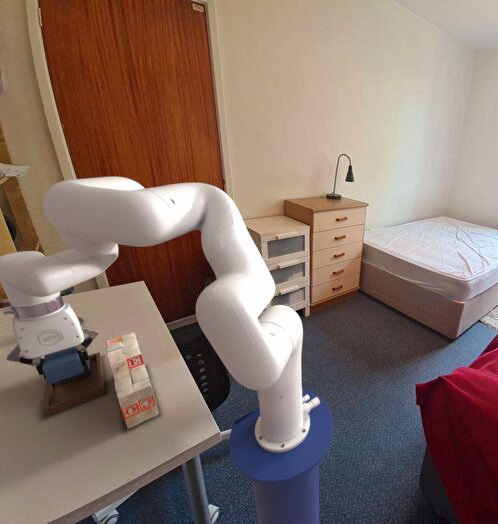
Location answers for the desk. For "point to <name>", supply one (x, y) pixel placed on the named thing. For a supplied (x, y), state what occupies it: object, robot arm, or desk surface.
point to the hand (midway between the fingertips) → (66, 368)
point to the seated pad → (86, 373)
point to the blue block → (62, 365)
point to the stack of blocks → (131, 380)
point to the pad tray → (75, 389)
